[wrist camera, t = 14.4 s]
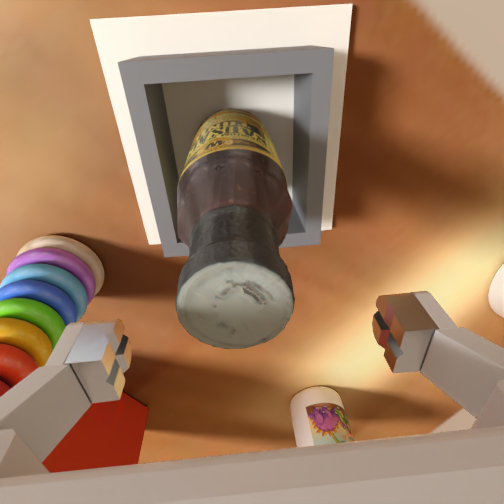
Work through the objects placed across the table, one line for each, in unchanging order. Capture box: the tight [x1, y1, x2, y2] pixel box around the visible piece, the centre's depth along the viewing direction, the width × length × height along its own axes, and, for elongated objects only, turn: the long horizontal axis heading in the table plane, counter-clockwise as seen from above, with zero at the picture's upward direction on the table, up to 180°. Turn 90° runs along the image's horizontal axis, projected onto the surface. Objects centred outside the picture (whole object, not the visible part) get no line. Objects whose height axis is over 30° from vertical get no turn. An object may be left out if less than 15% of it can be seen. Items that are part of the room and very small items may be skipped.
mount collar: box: [90, 4, 352, 257], centre depth 25 cm, size 18×18×7 cm
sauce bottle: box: [176, 108, 295, 349], centre depth 19 cm, size 6×6×20 cm
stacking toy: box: [0, 235, 104, 397], centre depth 26 cm, size 8×8×19 cm
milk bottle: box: [290, 386, 355, 447], centre depth 42 cm, size 8×8×20 cm
